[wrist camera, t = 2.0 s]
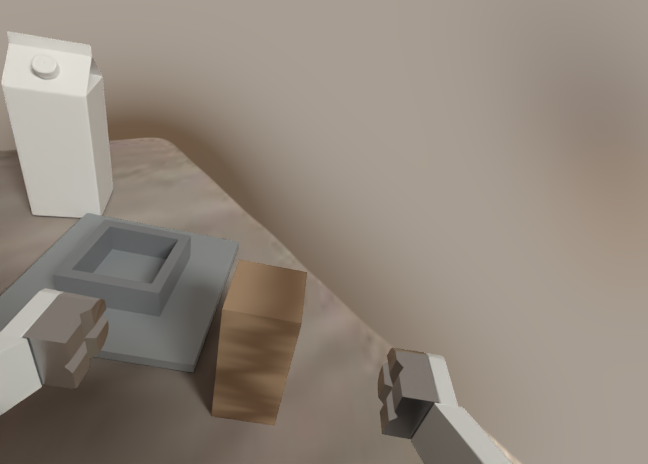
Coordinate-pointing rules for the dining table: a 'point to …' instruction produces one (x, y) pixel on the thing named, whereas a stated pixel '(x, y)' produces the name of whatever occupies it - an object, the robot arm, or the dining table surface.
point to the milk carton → (58, 125)
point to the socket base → (136, 286)
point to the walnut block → (257, 341)
